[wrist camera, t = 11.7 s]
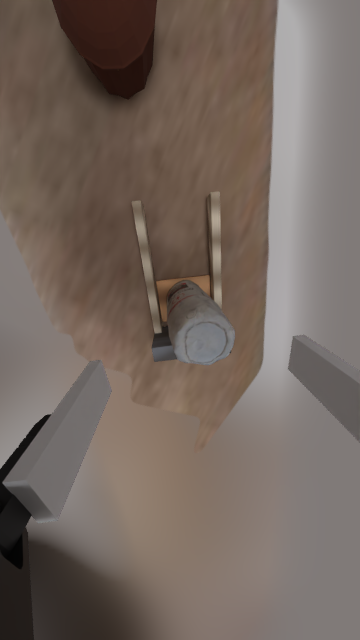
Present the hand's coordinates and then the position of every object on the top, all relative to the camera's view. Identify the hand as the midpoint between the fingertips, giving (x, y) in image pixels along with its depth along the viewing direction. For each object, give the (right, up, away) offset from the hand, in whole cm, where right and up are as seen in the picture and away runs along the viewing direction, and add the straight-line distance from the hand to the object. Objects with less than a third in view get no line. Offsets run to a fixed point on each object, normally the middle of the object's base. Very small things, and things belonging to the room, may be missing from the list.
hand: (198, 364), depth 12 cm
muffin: (-10, +40, +13) cm, 43 cm away
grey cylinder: (0, +8, +25) cm, 26 cm away
